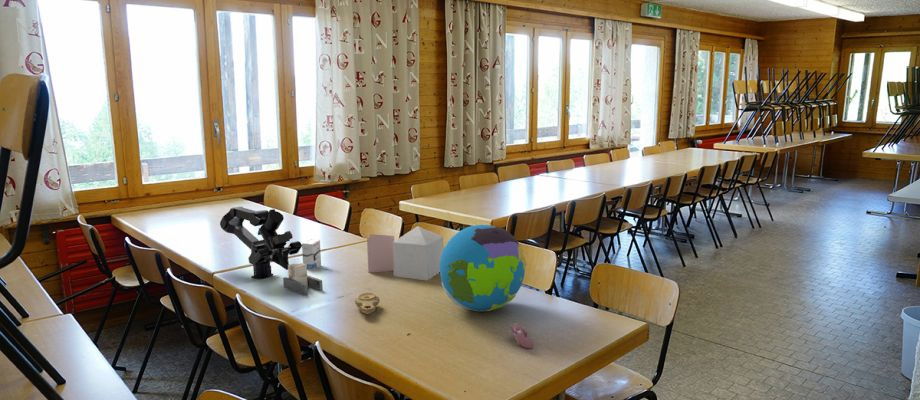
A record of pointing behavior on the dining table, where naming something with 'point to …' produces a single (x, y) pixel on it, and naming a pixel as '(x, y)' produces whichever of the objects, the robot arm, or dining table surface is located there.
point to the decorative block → (417, 254)
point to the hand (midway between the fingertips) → (288, 269)
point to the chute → (302, 285)
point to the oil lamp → (367, 302)
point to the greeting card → (380, 253)
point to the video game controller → (521, 336)
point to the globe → (482, 268)
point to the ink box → (311, 253)
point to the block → (298, 272)
